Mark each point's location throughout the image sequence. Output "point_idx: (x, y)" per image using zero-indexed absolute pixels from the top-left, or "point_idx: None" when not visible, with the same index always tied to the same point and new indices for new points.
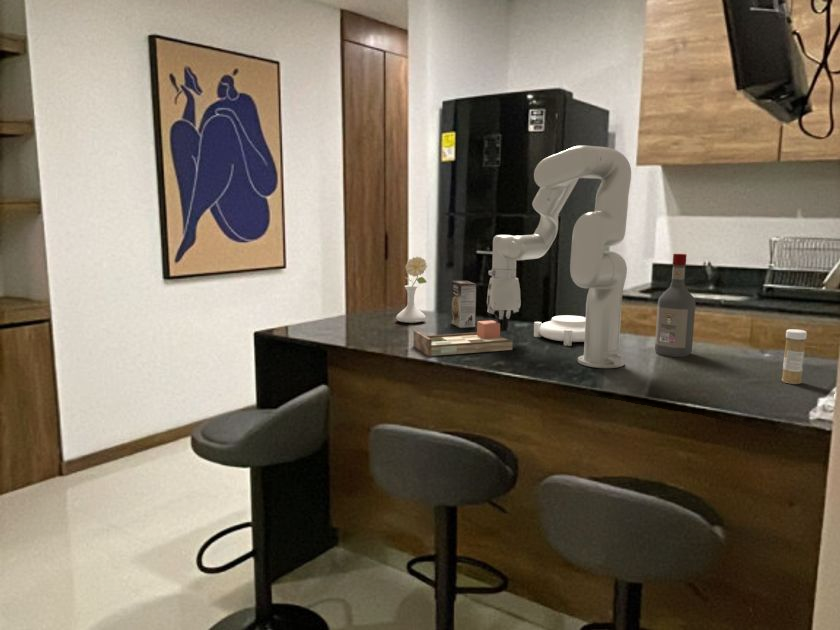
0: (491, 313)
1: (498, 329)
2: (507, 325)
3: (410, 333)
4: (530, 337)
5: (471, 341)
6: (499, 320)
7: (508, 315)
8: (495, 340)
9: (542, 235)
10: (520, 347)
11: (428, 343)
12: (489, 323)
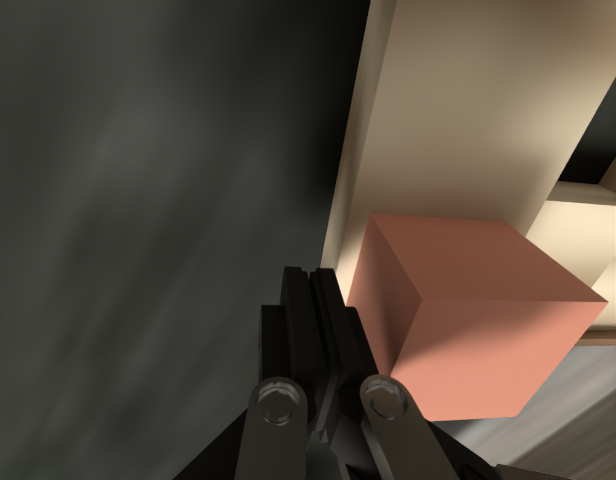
0: (535, 472)
1: (412, 253)
2: (268, 318)
3: (510, 458)
4: (8, 313)
5: (607, 201)
6: (377, 373)
7: (272, 428)
8: (505, 101)
9: None
10: (243, 17)
11: None
12: (528, 321)
